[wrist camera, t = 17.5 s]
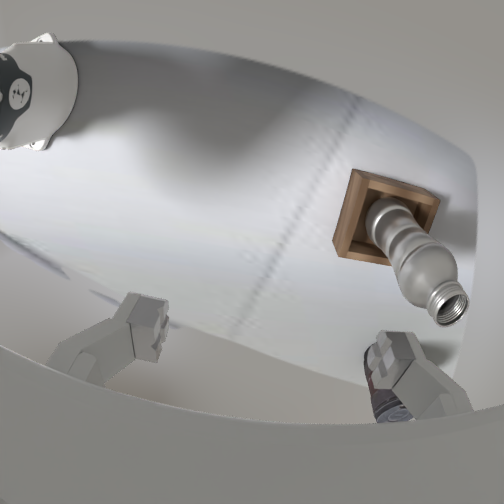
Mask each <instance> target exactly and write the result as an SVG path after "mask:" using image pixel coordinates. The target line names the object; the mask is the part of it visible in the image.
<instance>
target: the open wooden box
mask: <svg viewBox="0 0 504 504" xmlns="http://www.w3.org/2000/svg"><path fill="white" fill-rule="evenodd" d="M383 197H392V198H396V199H398V200H400V201H402V202H403V203H404V204H405V205H406V206H407V207H408V209H409V210H410V212H411V213H412V215H413V217H414V219H415V220H416V222H417V223H418V224H419V226H420V227H421V228H422V229H423V230H424V231H425V232H426V233H427V234H428V233H429V230H430V228H431V225H432V222H433V220H434V217H435V214H436V212H437V209H438V206H439V203H440V200H439V199H438V198H437V197H435V196H434V195H433V194H431V193H430V192H428V191H427V190H426V189H423V188H420V187H417V186H413V185H410V184H407V183H404V182H400V181H397V180H393V179H390V178H386V177H383V176H379V175H376V174H372V173H368V172H364V171H360V170H356V169H352V172H351V176H350V180H349V184H348V187H347V191H346V195H345V198H344V202H343V206H342V209H341V213H340V216H339V220H338V223H337V226H336V230H335V233H334V236H333V240H332V241H333V244H334V247H335V249H336V252H337V254H338V257H342V258H348V259H353V260H359V261H365V262H371V263H376V264H382V265H387V266H392V265H391V263H390V261H389V259H388V257H387V256H386V255H385V254H384V252H383V251H382V250H381V249H380V248H379V247H377V246H376V245H375V244H374V243H373V242H372V241H371V239H370V238H369V236H368V234H367V230H366V226H365V217H366V213H367V211H368V209H369V208H370V206H371V205H372V204H373V203H374V202H375V201H377V200H378V199H380V198H383Z"/></svg>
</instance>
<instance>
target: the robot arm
mask: <svg viewBox="0 0 504 504" xmlns="http://www.w3.org/2000/svg"><path fill="white" fill-rule="evenodd" d="M42 41H43V42H42ZM77 89H78V74H77V68H76V65H75V62H74V60H73V58H72V56H71V55H70V54H69V53H68V52H67V51H66V50H65V49H64V48H62V47H61V46H60V45H59V44H58V41H57V38H56V36H55V35H54V34H53V33H45V34H43V35H41V36H39V37H37V38H35V39H34V40H32V41H30V42H17V43H14V44H13V45H12V46H11V47H9V48H7V49H6V50H4V51H3V52H2V53H0V149H1V150H5V149H7V150H11V149H15V148H18V147H25V148H28V149H31V150H35V151H42V150H44V149H45V148H46V146H47V144H48V142H49V140H50V138H51V136H52V135H53V134H54V132H56V131H57V130H58V129H59V128H60V127H61V126H62V125H63V124H64V122H65V121H66V119H67V118H68V116H69V115H70V113H71V110H72V108H73V106H74V103H75V99H76V95H77ZM168 309H169V302H168V300H166V299H161V298H157V297H152V296H148V295H144V294H138V293H134V292H129V293H127V295H126V296H125V298H124V300H123V301H122V303H121V305H120V306H119V308H118V310H117V311H116V313H115V315H114V316H113V318H112V319H110V318H108V319H106V320H104V321H102V322H100V323H98V324H96V325H94V326H92V327H90V328H88V329H86V330H84V331H82V332H80V333H78V334H76V335H74V336H72V337H70V338H68V339H66V340H64V341H62V342H60V343H59V344H58V346H57V347H56V349H55V350H54V352H53V353H52V355H51V357H50V358H49V360H48V362H47V363H46V365H42V364H40V363H38V362H35V361H33V360H31V359H29V358H27V357H24V356H22V355H20V354H18V353H16V352H14V351H12V350H10V349H8V348H6V347H4V346H2V345H0V504H504V404H503V405H499V406H495V407H491V408H486V409H482V410H477V411H474V410H473V408H472V406H471V403H470V401H469V398H468V396H467V394H466V391H465V390H464V389H463V388H461V387H460V386H459V385H458V384H457V383H456V382H455V381H454V380H452V379H451V378H450V377H449V376H448V375H447V374H445V373H444V372H443V371H442V370H441V369H440V368H438V367H437V366H436V365H435V364H434V363H433V362H431V361H430V360H427V359H426V357H425V355H424V353H423V350H422V348H421V346H420V344H419V342H418V339H417V337H416V335H415V334H414V333H413V332H399V331H385V330H381V331H380V332H379V333H378V335H377V336H376V339H377V342H376V343H374V344H373V345H371V347H370V349H369V351H368V356H367V363H368V367H369V368H370V369H371V370H372V371H373V373H372V375H371V378H372V382H373V385H374V389H392V391H393V392H394V393H395V395H396V396H397V397H398V398H399V400H400V401H401V402H402V403H403V404H404V406H405V407H406V408H407V409H408V411H409V412H410V413H411V414H412V416H413V417H414V418H415V419H416V420H413V421H402V422H390V423H373V424H305V423H304V424H303V423H287V422H274V421H264V420H254V419H246V418H238V417H230V416H224V415H218V414H211V413H205V412H200V411H195V410H189V409H184V408H180V407H175V406H170V405H166V404H162V403H157V402H153V401H149V400H145V399H142V398H137V397H134V396H131V395H127V394H124V393H120V392H117V391H114V390H110V389H107V388H105V384H104V383H105V382H107V381H108V380H109V379H111V378H112V377H113V376H114V375H115V374H117V373H118V372H120V371H121V370H122V369H124V368H125V367H126V366H128V365H129V364H130V363H132V362H133V361H134V360H135V359H140V360H144V361H149V362H154V363H157V362H158V359H159V356H160V353H161V350H162V346H161V343H163V342H165V340H166V337H167V333H168V328H169V317H168V316H167V312H168Z"/></svg>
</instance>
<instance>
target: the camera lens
mask: <svg viewBox="0 0 504 504" xmlns="http://www.w3.org/2000/svg"><path fill="white" fill-rule="evenodd" d="M370 347H371V346H370ZM370 347H369V348H368V349H367V350H366V352H365V354H364V369H365V375H366V379H367V382H368V386H369V390H370V394H371V403H372V408H373V413H374V417H375V418H376V421H377V423H390V422H402V421H409V420H410V419H412V418H413V416H412V414H411V413H410V412H409V411H408V409H407V408H406V407H405V406H404V404H403V403H402V402H401V401H400V400H399V398H398V397H397V396H396V395H395V393H394V392H393V391H392V389H374V385H373V382H372V378H371V375H372V373H373V371H372V370H371V369H370V368H369V367H368V363H367V356H368V351H369V349H370Z"/></svg>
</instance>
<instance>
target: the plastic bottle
mask: <svg viewBox="0 0 504 504" xmlns="http://www.w3.org/2000/svg"><path fill="white" fill-rule="evenodd" d="M365 226H366V230H367V234H368V236H369V238H370V239H371V241H372V242H373V243H374V244H375V245H376V246H377V247H379V248H380V249H381V250H382V251H383V252H384V254H385V255H386V256H387V257H388V259H389V261H390V263H391V265H392V267H393V269H394V272H395V275H396V278H397V281H398V284H399V287H400V290H401V292H402V294H403V296H404V297H405V299H406V300H407V301H409V302H410V303H411V304H413V305H414V306H417V307H420V308H424V309H427V311H428V313H429V314H430V316H431V317H433V319H434V321H435V322H436V324H437V325H438V326H440V327H449V326H452V325H454V324H455V323H457V322H458V321H459V320H460V319H461V318H462V317H463V316H464V315H465V313H466V312H467V310H468V307H469V298H468V296H467V294H466V293H465V291H464V290H463V288H462V286H461V285H460V283H459V282H458V281H457V280H458V271H457V264H456V261H455V259H454V256H453V255H452V253H451V252H450V251H449V250H448V249H447V248H446V247H445V246H443V245H442V244H441V243H439V242H438V241H436V240H435V239H434V238H432V237H431V236H429V235H428V234H427V233H426V232H425V231H424V230H423V229H422V228H421V227H420V226H419V224H418V223H417V222H416V220H415V219H414V217H413V215H412V213H411V212H410V210H409V209H408V207H407V206H406V205H405V204H404V203H403V202H402V201H400V200H398V199H396V198H392V197H383V198H380V199H378V200H377V201H375V202H374V203H373V204H372V205H371V206H370V208H369V209H368V211H367V213H366V217H365Z"/></svg>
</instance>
